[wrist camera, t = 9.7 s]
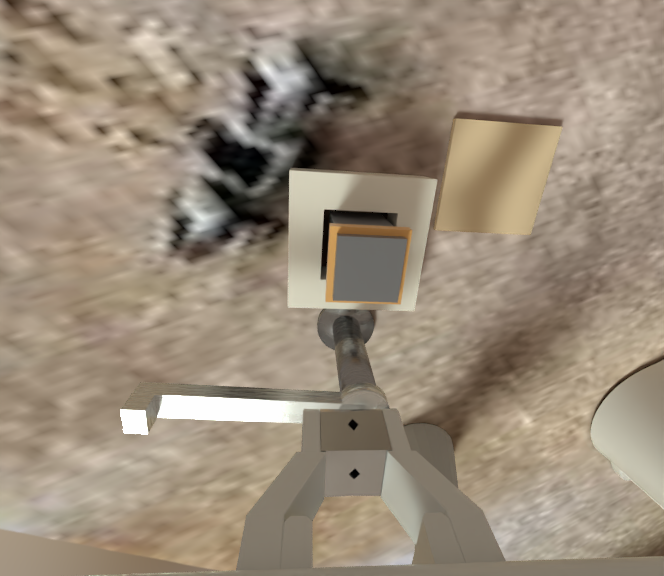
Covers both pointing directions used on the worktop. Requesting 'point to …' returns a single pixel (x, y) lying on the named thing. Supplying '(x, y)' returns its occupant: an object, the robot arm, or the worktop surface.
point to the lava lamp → (433, 448)
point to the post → (348, 343)
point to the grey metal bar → (238, 403)
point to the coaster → (494, 176)
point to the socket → (352, 195)
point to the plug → (365, 258)
